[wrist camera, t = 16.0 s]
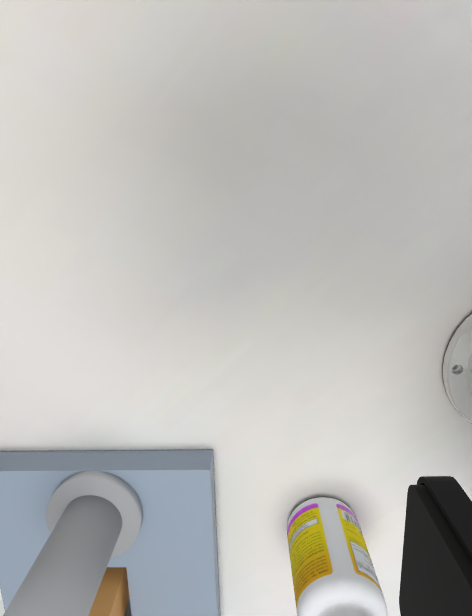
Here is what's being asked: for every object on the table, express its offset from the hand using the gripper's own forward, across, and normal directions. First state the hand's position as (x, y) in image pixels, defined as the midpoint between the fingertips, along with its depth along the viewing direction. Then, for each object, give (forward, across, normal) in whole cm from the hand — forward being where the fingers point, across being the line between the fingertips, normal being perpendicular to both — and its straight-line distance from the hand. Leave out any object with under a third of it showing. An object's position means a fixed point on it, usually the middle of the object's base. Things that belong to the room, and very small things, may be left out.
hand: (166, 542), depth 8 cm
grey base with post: (+28, +12, +26) cm, 40 cm away
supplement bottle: (+28, -8, +24) cm, 38 cm away
